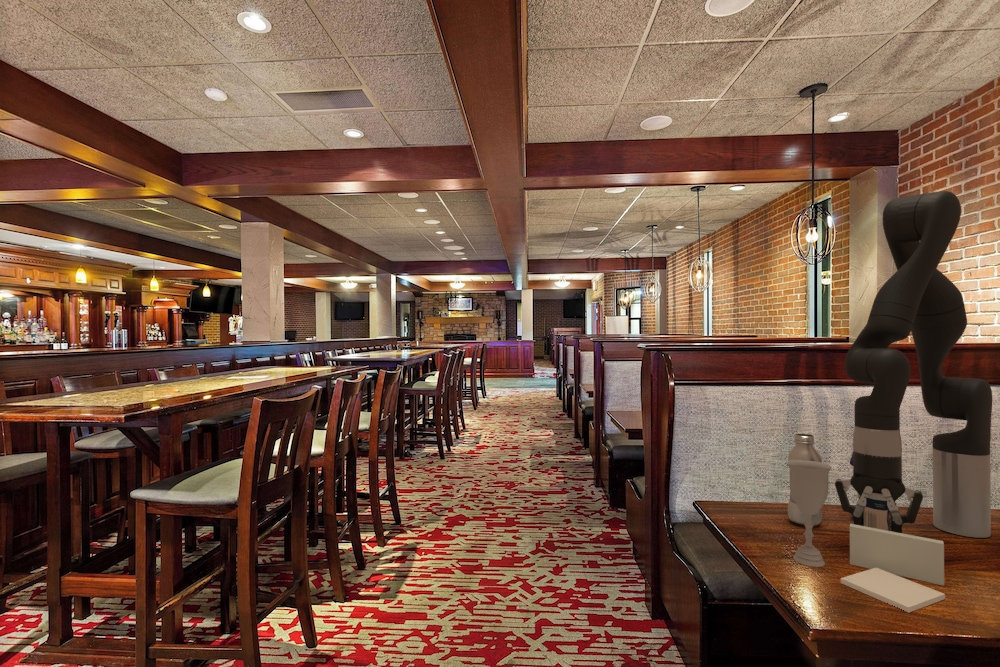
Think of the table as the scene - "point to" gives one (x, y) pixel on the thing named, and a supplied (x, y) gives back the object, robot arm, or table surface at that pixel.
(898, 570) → the partition
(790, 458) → the plastic bottle
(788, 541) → the table surface
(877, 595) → the tile
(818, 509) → the chalice
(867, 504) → the beer can
